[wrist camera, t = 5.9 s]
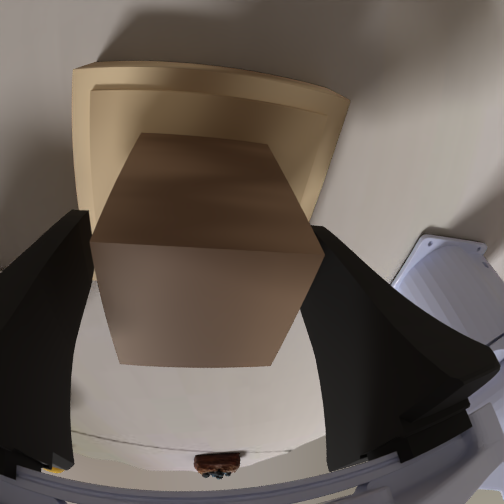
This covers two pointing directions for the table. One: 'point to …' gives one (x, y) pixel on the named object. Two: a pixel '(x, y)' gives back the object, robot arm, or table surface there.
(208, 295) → the walnut block
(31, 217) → the table surface
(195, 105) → the oak base
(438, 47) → the table surface
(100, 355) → the table surface
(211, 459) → the pastry
